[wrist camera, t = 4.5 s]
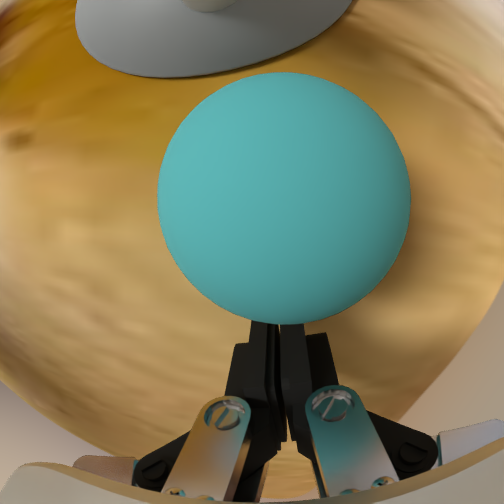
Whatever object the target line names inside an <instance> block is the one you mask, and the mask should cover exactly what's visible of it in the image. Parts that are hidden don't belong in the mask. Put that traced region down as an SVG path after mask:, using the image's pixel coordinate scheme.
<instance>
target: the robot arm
mask: <svg viewBox="0 0 504 504" xmlns="http://www.w3.org/2000/svg"><path fill="white" fill-rule="evenodd" d="M287 419H288V424H289V430H290V435H291V440H292V441H296V443H297V449H298V452H299V453H301V454H302V455H304V456H305V457H307V458H308V459H310V463H311V467H312V470H313V474H314V478H315V482H316V486H317V490H318V494H319V497H320V499H312V500H303V501H292V502H291V501H290V502H269V503H259V501H260V498H261V494H262V490H263V486H264V482H265V479H266V475H267V470H268V466H269V460H270V459H271V458H272V457H274V456H275V455H276V454H277V451H279V450H281V442H287ZM0 504H504V421H501V420H498V419H495V420H489V421H485V422H482V423H478V424H474V425H471V426H466V427H462V428H458V429H453V430H448V431H443V432H439V434H438V435H436V436H429V435H427V434H425V433H422V432H420V431H417V430H414V429H411V428H409V427H406V426H404V425H401V424H398V423H396V422H393V421H391V420H388V419H386V418H384V417H381V416H379V415H376V414H374V413H372V412H369V411H367V410H366V409H365V407H364V405H363V403H362V401H361V399H360V397H359V396H358V395H357V393H356V392H355V391H354V390H352V389H350V388H349V387H345V386H342V385H339V383H338V379H337V374H336V370H335V366H334V362H333V357H332V353H331V349H330V345H329V341H328V337H327V334H326V332H324V333H318V334H312V335H305V330H304V324H303V323H302V324H290V325H281V324H280V332H279V326H278V324H270V323H264V322H258V321H254V320H252V322H251V329H250V336H249V343H238V344H236V345H235V347H234V352H233V356H232V361H231V366H230V371H229V376H228V381H227V386H226V391H225V395H224V396H222V397H218V398H215V399H213V400H211V401H209V402H208V403H207V404H206V405H204V406H203V408H202V409H201V411H200V412H199V415H198V417H197V419H196V421H195V423H194V425H193V427H192V429H191V430H190V431H189V432H187V433H185V434H184V435H182V436H180V437H179V438H177V439H175V440H173V441H172V442H170V443H168V444H166V445H165V446H163V447H161V448H159V449H157V450H155V451H154V452H152V453H150V454H148V455H146V456H144V457H143V458H142V459H140V460H137V459H136V458H135V457H107V456H92V455H86V456H82V457H80V458H79V459H77V460H76V461H75V462H74V465H73V467H70V466H66V465H63V464H57V463H48V462H34V463H27V464H24V465H22V466H20V467H18V468H17V469H16V470H15V471H14V473H13V474H12V475H11V476H10V478H9V479H8V481H7V482H6V484H5V485H4V487H3V489H2V490H1V492H0Z"/></svg>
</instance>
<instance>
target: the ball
mask: <svg viewBox="0 0 504 504" xmlns="http://www.w3.org/2000/svg"><path fill="white" fill-rule="evenodd" d="M157 195H158V214H159V220H160V225H161V229H162V233H163V236H164V238H165V241H166V244H167V247H168V249H169V251H170V253H171V255H172V257H173V258H174V260H175V262H176V264H177V265H178V267H179V268H180V270H181V271H182V272H183V274H184V275H185V276H186V278H187V279H188V280H189V281H190V282H191V283H192V284H193V285H194V286H195V287H196V288H197V289H198V290H199V291H200V292H201V293H202V294H203V295H204V296H206V297H207V298H208V299H210V300H211V301H213V302H214V303H215V304H217V305H218V306H220V307H222V308H224V309H226V310H228V311H230V312H232V313H234V314H236V315H239V316H241V317H244V318H247V319H250V320H254V321H258V322H264V323H270V324H281V325H290V324H302V323H307V322H312V321H317V320H321V319H324V318H327V317H329V316H332V315H335V314H337V313H340V312H342V311H343V310H345V309H347V308H349V307H350V306H352V305H354V304H356V303H357V302H358V301H360V300H361V299H362V298H363V297H365V296H366V295H367V294H368V293H370V292H371V291H372V290H373V289H374V288H375V287H376V286H377V284H378V283H379V282H380V281H381V280H382V279H383V278H384V277H385V275H386V274H387V272H388V271H389V269H390V268H391V266H392V265H393V263H394V262H395V260H396V258H397V256H398V254H399V251H400V249H401V247H402V244H403V242H404V240H405V236H406V232H407V228H408V224H409V216H410V205H411V192H410V182H409V176H408V172H407V168H406V164H405V160H404V157H403V155H402V153H401V151H400V148H399V146H398V144H397V142H396V140H395V138H394V136H393V134H392V133H391V131H390V130H389V128H388V127H387V126H386V124H385V123H384V122H383V121H382V119H381V118H380V117H379V116H378V114H377V113H376V112H375V111H374V110H373V109H372V108H370V107H369V106H368V105H367V104H366V103H365V102H364V101H362V100H361V99H360V98H359V97H357V96H356V95H355V94H353V93H351V92H350V91H348V90H346V89H345V88H343V87H341V86H339V85H336V84H334V83H332V82H329V81H327V80H324V79H322V78H318V77H314V76H311V75H306V74H299V73H286V72H281V73H267V74H259V75H255V76H251V77H247V78H243V79H241V80H238V81H236V82H233V83H231V84H229V85H227V86H225V87H223V88H221V89H220V90H218V91H216V92H215V93H213V94H211V95H210V96H208V97H207V98H206V99H204V100H203V101H202V102H201V103H200V104H198V105H197V106H196V107H195V108H194V109H193V110H192V111H191V112H190V114H189V115H188V116H187V117H186V118H185V119H184V121H183V122H182V123H181V124H180V126H179V128H178V129H177V131H176V133H175V134H174V136H173V138H172V140H171V141H170V143H169V145H168V147H167V150H166V153H165V156H164V158H163V162H162V165H161V169H160V174H159V180H158V194H157Z"/></svg>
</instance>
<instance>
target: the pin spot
mask: <svg viewBox="0 0 504 504" xmlns="http://www.w3.org/2000/svg"><path fill="white" fill-rule="evenodd" d="M351 2H352V0H237V1H236V2H234V3H233V4H232V5H230V6H228V7H226V8H224V9H221V10H217V11H213V12H198V11H194V10H192V9H190V8H188V7H187V6H186V5H185V4H184V3H183V1H182V0H78V1H77V6H76V13H75V20H76V29H77V33H78V36H79V38H80V41H81V43H82V45H83V46H84V47H85V49H86V50H87V51H88V52H89V54H90V55H92V56H93V57H94V58H95V59H97V60H98V61H99V62H101V63H103V64H105V65H107V66H108V67H110V68H112V69H115V70H118V71H121V72H124V73H127V74H132V75H138V76H143V77H156V78H180V77H192V76H201V75H209V74H214V73H219V72H224V71H230V70H234V69H238V68H241V67H245V66H249V65H252V64H256V63H259V62H262V61H264V60H267V59H270V58H273V57H276V56H279V55H281V54H283V53H285V52H287V51H290V50H292V49H294V48H297V47H299V46H300V45H302V44H304V43H306V42H307V41H309V40H311V39H313V38H315V37H316V36H318V35H319V34H320V33H322V32H323V31H325V30H326V29H327V28H329V27H330V26H331V25H332V24H333V23H334V22H335V21H336V20H338V19H339V18H340V17H341V16H342V15H343V13H344V12H345V11H346V9H347V8H348V6H349V5H350V4H351Z"/></svg>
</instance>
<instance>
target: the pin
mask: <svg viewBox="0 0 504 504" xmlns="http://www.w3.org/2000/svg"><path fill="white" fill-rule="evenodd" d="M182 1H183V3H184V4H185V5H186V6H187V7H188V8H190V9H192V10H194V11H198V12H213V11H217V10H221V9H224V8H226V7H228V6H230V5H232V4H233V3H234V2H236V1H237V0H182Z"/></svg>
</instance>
